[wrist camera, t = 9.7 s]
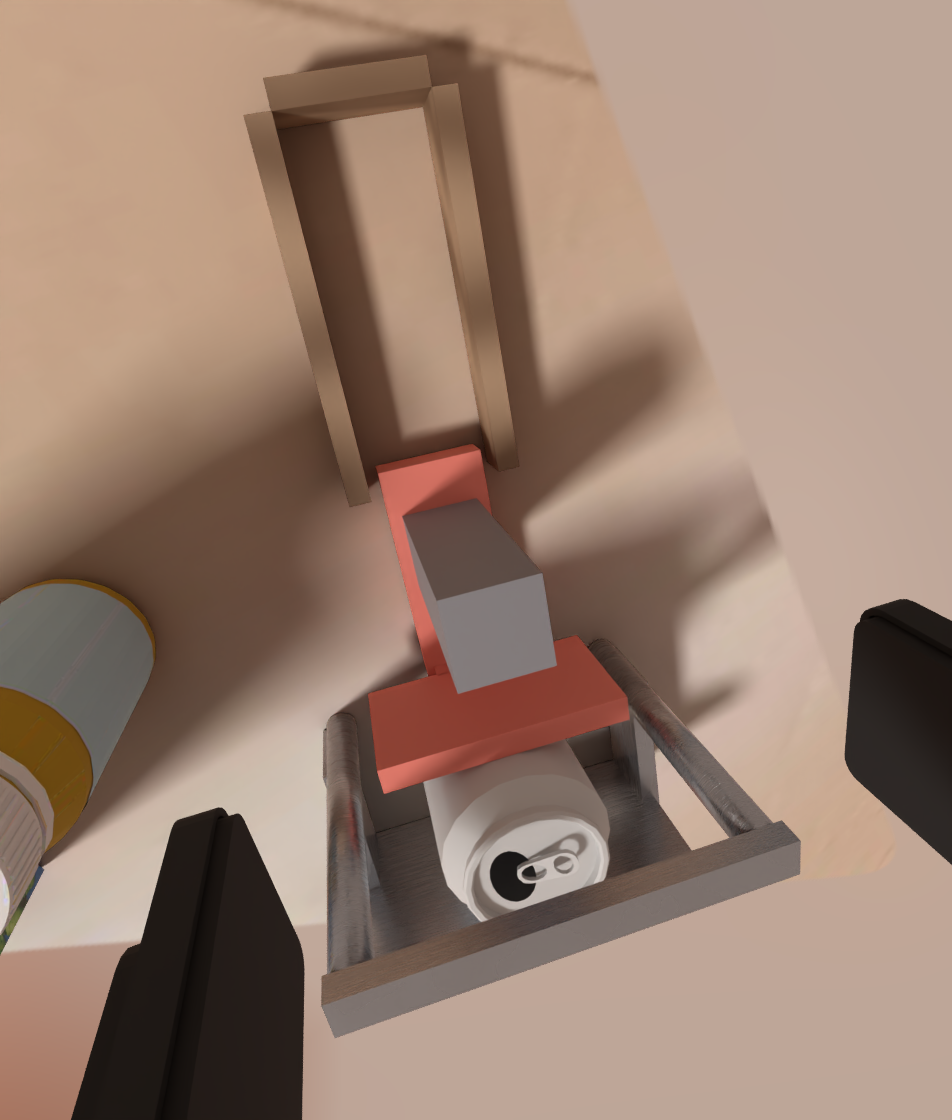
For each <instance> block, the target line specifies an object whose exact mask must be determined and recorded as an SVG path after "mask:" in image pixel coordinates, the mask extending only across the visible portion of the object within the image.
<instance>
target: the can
mask: <svg viewBox="0 0 952 1120" xmlns="http://www.w3.org/2000/svg"><path fill="white" fill-rule="evenodd" d="M423 783H424V787H425V792H426V796H427V801H428V806H429V810H430V815H431V820H432V824H433V829H434V833H435V838H436V843H437V847H438V852H439V857H440V861H441V866H442V869H443V872H444V876H445V879H446V882H447V886H448V887H449V888H450V889H451V890H452V891H453V893H454V894H455V895H456V896H457V897H458V898H459V899H460V901H461V902H463V903H465V904H467V906H468V908H469V909H470V910H471V912H472V913H473V914H474V915H475V916H476V917H477V918H478V920H479V921H481V922H483V921H486V920H489V919H492V918H495V917H498V916H501V915H504V914H507V913H510V912H513V911H516V910H518V909H521V908H524V907H527V906H530V905H533V904H536V903H539V902H542V901H545V900H548V899H551V898H554V897H557V896H560V895H563V894H566V893H569V892H572V891H575V890H578V889H581V888H584V887H586V886H589V885H592V884H595V883H598V882H601V881H604V879H605V877H606V874H607V870H608V865H609V861H610V854H609V848H608V837H609V833H610V826H609V820H608V814H607V809H606V807H605V806H604V804H603V802H602V800H601V799H600V797H599V795H598V794H597V792H596V790H595V788H594V787H593V785H592V783H591V782H590V780H589V778H588V777H587V775H586V773H585V771H584V770H583V768H582V766H581V765H580V763H579V761H578V759H577V758H576V756H575V754H574V753H573V751H572V749H571V747H570V746H569V744H568V742H567V741H566V739H564V740H560V741H557V742H554V743H550V744H547V745H544V746H540V747H537V748H534V749H531V750H527V751H524V752H521V753H517V754H514V755H511V756H507V757H504V758H501V759H498V760H494V761H491V762H488V763H484V764H481V765H478V766H474V767H471V768H468V769H465V770H461V771H458V772H455V773H451V774H448V775H445V776H441V777H438V778H435V779H432V780H428V781H425V782H423Z"/></svg>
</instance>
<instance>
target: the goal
mask: <svg viewBox="0 0 952 1120" xmlns="http://www.w3.org/2000/svg"><path fill="white" fill-rule="evenodd" d="M588 649H589V650H590V652H591V653H592V654H593V655H594V657H595V658H596V659H597V660H598V662H599V663H600V664H601V665H602V666H603V668H604V669H605V670H606V671H607V673H608V674H609V675H610V676H611V677H612V679H613V680H614V681H615V682H616V684H617V685H618V686H619V687H620V689H621V690H622V691H623V692H624V693H625V695H626V696H627V699H628V708H629V717H630V720H626V721H623V722H620V723H616V724H613V725H610V726H609V727H610V735H611V743H612V751H613V760H610V761H607V762H604V763H600V764H597V765H594V766H591V767H587V768H584V769H583V770H584V771H585V773H586V775H587V777H588V778H589V780H590V782H591V783H592V785H593V787H594V788H595V790H596V792H597V794H598V795H599V797H600V799H601V800H602V802H603V804H604V806H605V807H606V809H607V814H608V820H609V826H610V833H609V837H608V848H609V854H610V861H609V865H608V870H607V874H606V877H605V879H604V881H601V882H598V883H595V884H592V885H589V886H586V887H584V888H581V889H578V890H575V891H572V892H569V893H566V894H563V895H560V896H557V897H554V898H551V899H548V900H545V901H542V902H539V903H536V904H533V905H530V906H527V907H524V908H521V909H518V910H516V911H513V912H510V913H507V914H504V915H501V916H498V917H495V918H492V919H489V920H486V921H483V922H481V921H479V920H478V918H477V917H476V916H475V915H474V914H473V913H472V912H471V910H470V909H469V908H468V906H467V904H465V903H463V902H461V901H460V899H459V898H458V897H457V896H456V895H455V894H454V893H453V891H452V890H451V889H450V888H449V887H448V886H447V882H446V879H445V876H444V872H443V869H442V866H441V861H440V857H439V852H438V847H437V843H436V838H435V833H434V829H433V824H432V820H431V816H430V817H427V818H424V819H420V820H417V821H414V822H411V823H407V824H404V825H401V826H398V827H395V828H391V829H388V830H385V831H382V832H379V833H376V832H375V829H374V826H373V823H372V820H371V816H370V813H369V810H368V807H367V804H366V801H365V798H364V795H363V791H362V788H361V779H360V766H359V753H358V740H357V727H356V721H355V719H354V717H353V716H351V715H350V714H347V713H338V714H335V715H333V716H332V717H331V718H330V719H329V720H328V722H327V726H326V730H324V731H323V779H324V782H325V785H326V788H327V974H326V975H323V976H322V996H321V998H322V999H321V1003H322V1004H321V1005H322V1009H323V1011H324V1013H325V1016H326V1018H327V1020H328V1023H329V1025H330V1028H331V1030H332V1032H333V1035H334V1037H335V1038H337V1037H340V1036H343V1035H345V1034H348V1033H351V1032H354V1031H357V1030H360V1029H362V1028H365V1027H368V1026H371V1025H374V1024H376V1023H379V1022H382V1021H385V1020H387V1019H391V1018H393V1017H396V1016H399V1015H402V1014H405V1013H408V1012H410V1011H413V1010H416V1009H419V1008H422V1007H424V1006H428V1005H430V1004H433V1003H436V1002H439V1001H441V1000H445V999H447V998H450V997H453V996H456V995H459V994H462V993H464V992H467V991H470V990H473V989H476V988H479V987H481V986H484V985H487V984H490V983H493V982H496V981H498V980H501V979H504V978H507V977H510V976H513V975H516V974H518V973H521V972H524V971H527V970H530V969H533V968H535V967H538V966H541V965H544V964H547V963H550V962H552V961H555V960H558V959H561V958H564V957H567V956H569V955H572V954H575V953H577V952H581V951H583V950H586V949H589V948H592V947H594V946H598V945H601V944H603V943H606V942H609V941H612V940H615V939H618V938H620V937H623V936H626V935H629V934H632V933H635V932H637V931H640V930H643V929H646V928H649V927H651V926H654V925H657V924H660V923H663V922H666V921H669V920H672V919H674V918H677V917H680V916H683V915H686V914H688V913H691V912H694V911H697V910H700V909H703V908H705V907H708V906H711V905H714V904H717V903H720V902H723V901H725V900H728V899H731V898H734V897H737V896H739V895H742V894H745V893H748V892H750V891H754V890H757V889H759V888H762V887H765V886H768V885H771V884H773V883H776V882H779V881H782V880H785V879H788V878H791V877H793V876H796V875H799V874H800V845H801V841H800V840H799V839H798V838H797V836H796V835H795V834H794V833H793V832H792V831H791V830H790V829H789V828H788V827H787V826H786V825H785V823H784V822H783V821H779V822H776V823H773V822H772V821H771V820H770V819H769V818H768V817H767V816H766V815H765V813H764V812H763V811H762V810H761V809H760V808H759V807H758V806H757V805H756V803H755V802H754V801H753V800H752V799H751V798H750V797H749V796H748V795H747V794H746V792H745V791H744V790H743V789H742V788H741V787H740V786H739V785H738V784H737V782H736V781H735V780H734V779H733V778H732V777H731V776H730V775H729V774H728V772H727V771H726V770H725V769H724V768H723V767H722V766H721V765H720V764H719V762H718V761H717V760H716V759H715V758H714V757H713V756H712V755H711V754H710V752H709V751H708V750H707V749H706V748H705V747H704V746H703V745H702V744H701V743H700V741H699V740H698V739H697V738H696V737H695V736H694V735H693V734H692V733H691V731H690V730H689V729H688V728H687V727H686V726H685V725H684V724H683V723H682V721H681V720H680V719H679V718H678V717H677V716H676V715H675V714H674V713H673V711H672V710H671V709H670V708H669V707H668V706H667V705H666V704H665V703H664V701H663V700H662V699H661V698H660V697H659V696H658V695H657V694H656V693H655V692H654V690H653V689H652V688H651V687H650V686H649V685H648V682H647V681H646V680H645V679H644V677H643V676H642V675H641V674H640V673H639V672H638V671H637V670H636V669H635V668H634V666H633V665H632V664H631V663H630V662H629V661H628V660H627V659H626V658H625V657H624V655H623V654H622V653H621V652H620V651H619V650H618V649H617V648H616V647H614V646H613V645H612V644H611V643H610V642H609V641H608V640H604V639H600V640H597V641H595V642H593V643H592V644H591V645H590V646H589V648H588ZM654 743H655V744H656V745H657V747H658V748H659V749H660V750H661V752H662V753H663V754H664V755H665V757H666V758H667V759H668V760H669V762H670V763H671V764H672V766H673V767H674V768H675V769H676V771H677V772H678V773H679V774H680V776H681V777H682V778H683V779H684V781H685V782H686V783H687V785H688V786H689V787H690V788H691V790H692V791H693V792H694V793H695V795H696V796H697V797H698V798H699V800H700V801H701V802H702V803H703V805H704V806H705V807H706V809H707V810H708V811H709V812H710V814H711V815H712V816H713V817H714V819H715V820H716V821H717V822H718V824H719V825H720V826H721V828H722V829H723V830H724V831H725V833H726V834H727V835H728V836H729V838H728V839H725V840H722V841H720V842H717V843H714V844H711V845H708V846H705V847H702V848H699V849H696V850H693V851H692V850H691V849H690V847H689V846H688V845H687V843H686V842H685V840H684V839H683V837H682V836H681V835H680V833H679V832H678V830H677V829H676V827H675V826H674V825H673V823H672V822H671V820H670V819H669V817H668V816H667V815H666V813H665V812H664V810H663V809H662V807H661V806H660V805H659V795H658V785H657V774H656V763H655V753H654Z"/></svg>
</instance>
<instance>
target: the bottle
mask: <svg viewBox="0 0 952 1120" xmlns="http://www.w3.org/2000/svg"><path fill="white" fill-rule="evenodd" d="M155 658H156V650H155V639H154V635H153V632H152V630H151V628H150V626H149V624H148V622H147V620H146V618H145V617H144V615H143V614H142V613H141V612H140V611H139V610H138V609H137V608H136V607H135V606H134V605H133V604H132V603H131V602H130V601H129V600H128V599H127V598H125V597H123V596H122V595H120V594H118V593H117V592H115V591H113V590H111V589H110V588H107V587H105V586H103V585H99V584H95V583H92V582H88V581H84V580H78V579H53V580H47V581H43V582H40V583H36V584H32V585H29V586H27V587H25V588H23V589H21V590H20V591H18V592H17V593H15V594H14V595H12V596H10V597H9V598H8V599H6V600H5V601H3V602H2V603H1V604H0V935H1V934H2V933H3V931H4V930H5V928H6V926H7V925H8V924H9V922H10V920H11V918H12V916H13V914H14V912H15V911H16V909H17V907H18V905H19V903H20V901H21V899H22V897H23V895H24V894H25V892H26V890H27V888H28V886H29V884H30V882H31V880H32V878H33V877H34V875H35V872H36V870H37V868H38V863H39V862H40V860H41V858H42V856H43V854H44V853H45V852H47V851H48V850H49V849H50V848H51V847H53V846H54V845H55V844H56V843H57V842H59V841H60V840H61V839H62V838H63V837H64V836H65V835H66V834H67V832H68V831H69V830H70V829H71V827H72V826H73V825H74V824H75V823H76V821H77V820H78V818H79V816H80V814H81V812H82V811H83V810H84V808H85V806H86V804H87V802H88V800H89V798H90V796H91V794H92V792H93V790H94V788H95V786H96V784H97V782H98V780H99V778H100V776H101V774H102V772H103V770H104V768H105V766H106V764H107V762H108V760H109V758H110V756H111V754H112V752H113V750H114V748H115V746H116V744H117V742H118V740H119V738H120V736H121V734H122V732H123V730H124V728H125V726H126V724H127V722H128V720H129V718H130V716H131V714H132V712H133V710H134V708H135V706H136V704H137V702H138V700H139V698H140V696H141V694H142V692H143V690H144V688H145V686H146V684H147V682H148V680H149V677H150V675H151V672H152V669H153V665H154V662H155Z"/></svg>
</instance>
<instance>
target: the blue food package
mask: <svg viewBox="0 0 952 1120" xmlns="http://www.w3.org/2000/svg"><path fill="white" fill-rule="evenodd" d="M43 871H44V869H43V868H42V867H41V866H40V865H38V868H37V870H36V872H35V875H34V877H33V878H32V880H31V882H30V884H29V886H28V888H27V890H26V892H25V894H24V895H23V897H22V899H21V901H20V903H19V905H18V907H17V909H16V911H15V912H14V914H13V916H12V918H11V920H10V922H9V924H8V925H7V926H6V928H5V930H4V931H3V933H2V934H1V935H0V954H1V952H2V951H3V949H4V947H5V945H6V943H7V941H8V939H9V937H10V935H11V933H12V931H13V929H14V927H15V925H16V923H17V921H18V920H19V918H20V916H21V914H22V912H23V910H24V908H25V906H26V904H27V902H28V900H29V898H30V896H31V894H32V892H33V891H34V889H35V887H36V885H37V883H38V881H39V879H40V877H41V875H42V873H43Z"/></svg>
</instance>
